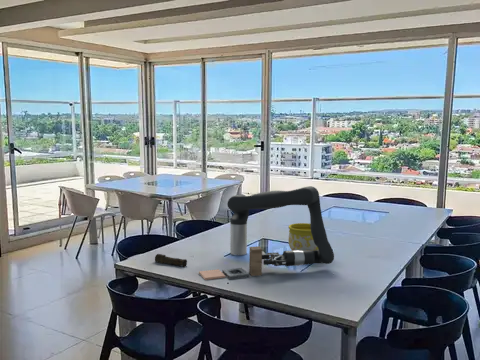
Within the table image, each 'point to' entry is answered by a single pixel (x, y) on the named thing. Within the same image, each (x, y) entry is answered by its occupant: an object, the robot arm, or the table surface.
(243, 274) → the hole plate
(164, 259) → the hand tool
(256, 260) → the walnut block
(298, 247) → the flowerpot
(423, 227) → the table surface
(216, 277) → the tile
